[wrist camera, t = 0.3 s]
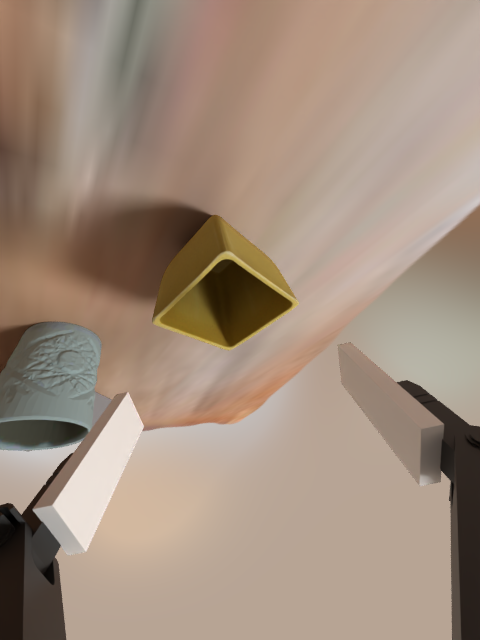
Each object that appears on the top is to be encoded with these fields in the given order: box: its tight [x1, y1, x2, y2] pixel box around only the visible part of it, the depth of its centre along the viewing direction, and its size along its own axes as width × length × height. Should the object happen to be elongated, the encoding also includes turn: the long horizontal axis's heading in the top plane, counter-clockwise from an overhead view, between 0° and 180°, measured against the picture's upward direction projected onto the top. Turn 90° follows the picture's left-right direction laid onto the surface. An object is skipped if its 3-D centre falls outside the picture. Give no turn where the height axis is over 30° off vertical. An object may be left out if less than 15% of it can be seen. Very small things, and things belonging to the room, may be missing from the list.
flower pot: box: [152, 215, 299, 350], centre depth 22 cm, size 9×9×9 cm
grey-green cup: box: [0, 322, 101, 451], centre depth 28 cm, size 10×10×12 cm
